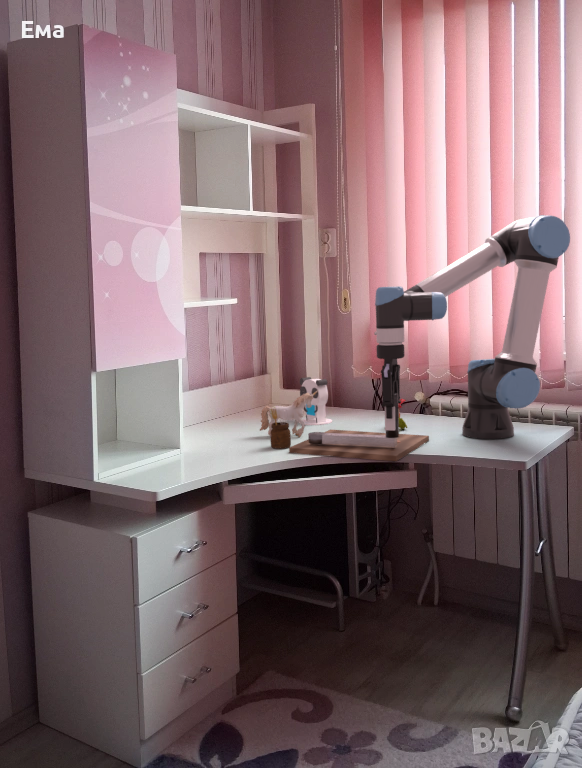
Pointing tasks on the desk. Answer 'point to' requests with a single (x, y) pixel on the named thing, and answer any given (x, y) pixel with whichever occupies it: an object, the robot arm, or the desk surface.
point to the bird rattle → (401, 421)
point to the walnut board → (363, 447)
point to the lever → (360, 435)
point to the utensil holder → (280, 433)
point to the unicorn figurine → (288, 413)
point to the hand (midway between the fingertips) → (391, 428)
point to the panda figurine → (315, 401)
